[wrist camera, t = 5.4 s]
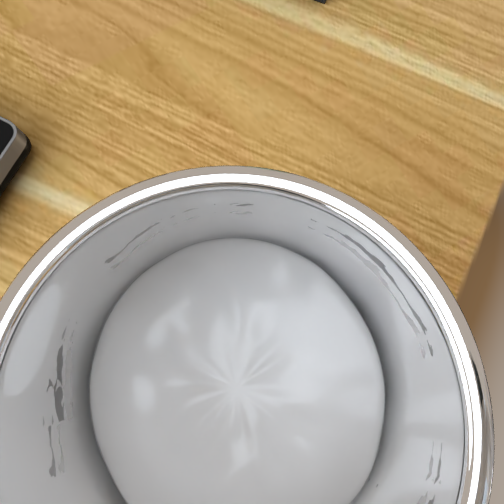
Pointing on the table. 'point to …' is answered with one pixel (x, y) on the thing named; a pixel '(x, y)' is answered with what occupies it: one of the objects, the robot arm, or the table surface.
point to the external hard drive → (11, 151)
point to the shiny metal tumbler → (238, 354)
